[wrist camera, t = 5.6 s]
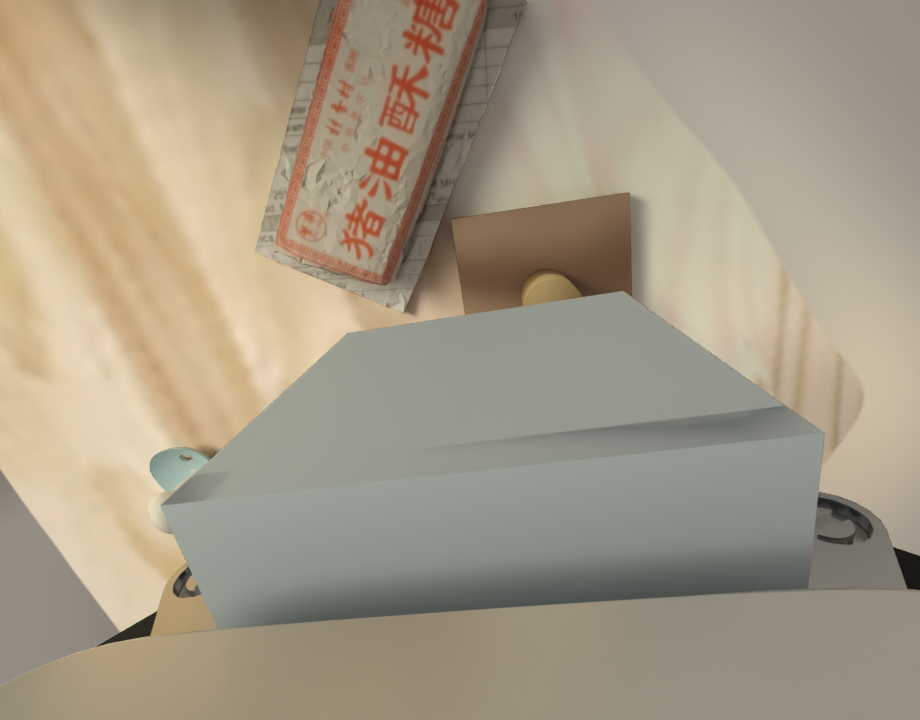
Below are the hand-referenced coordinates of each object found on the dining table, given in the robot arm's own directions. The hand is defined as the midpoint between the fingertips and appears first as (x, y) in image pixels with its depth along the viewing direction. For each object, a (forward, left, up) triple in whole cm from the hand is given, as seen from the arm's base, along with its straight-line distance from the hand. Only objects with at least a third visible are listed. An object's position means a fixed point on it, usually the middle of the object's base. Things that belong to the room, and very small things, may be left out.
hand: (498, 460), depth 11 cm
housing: (0, 0, -1) cm, 1 cm away
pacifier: (+11, -24, -19) cm, 33 cm away
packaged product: (-10, -6, -19) cm, 22 cm away
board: (+5, +3, -18) cm, 19 cm away
